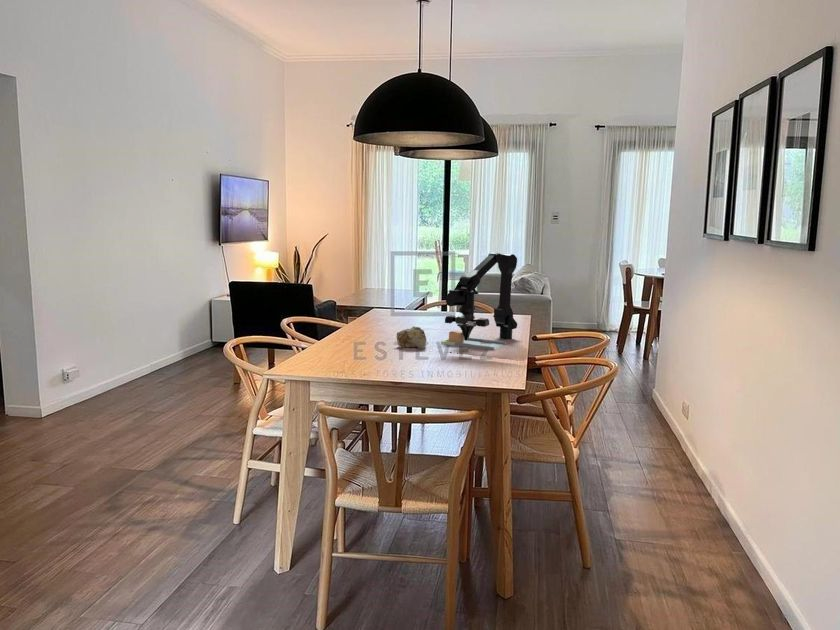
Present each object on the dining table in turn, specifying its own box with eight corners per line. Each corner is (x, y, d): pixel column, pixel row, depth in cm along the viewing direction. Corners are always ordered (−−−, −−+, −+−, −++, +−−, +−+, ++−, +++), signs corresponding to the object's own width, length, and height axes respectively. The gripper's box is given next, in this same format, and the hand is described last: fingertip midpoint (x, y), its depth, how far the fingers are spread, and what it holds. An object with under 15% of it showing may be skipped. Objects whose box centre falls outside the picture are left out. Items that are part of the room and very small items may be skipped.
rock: (430, 343, 270) (423, 322, 268) (427, 348, 264) (419, 326, 262) (405, 350, 274) (397, 329, 272) (401, 355, 268) (393, 333, 266)
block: (453, 340, 277) (453, 330, 276) (463, 341, 275) (464, 331, 274) (448, 342, 272) (449, 332, 272) (459, 343, 270) (459, 333, 270)
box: (454, 341, 283) (454, 335, 282) (505, 347, 272) (505, 341, 272) (440, 347, 270) (440, 341, 269) (493, 353, 259) (493, 347, 259)
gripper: (439, 305, 267) (438, 341, 269) (481, 308, 258) (479, 345, 261) (450, 302, 276) (449, 337, 279) (490, 305, 268) (489, 341, 271)
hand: (466, 340), depth 272 cm, fingers closed
